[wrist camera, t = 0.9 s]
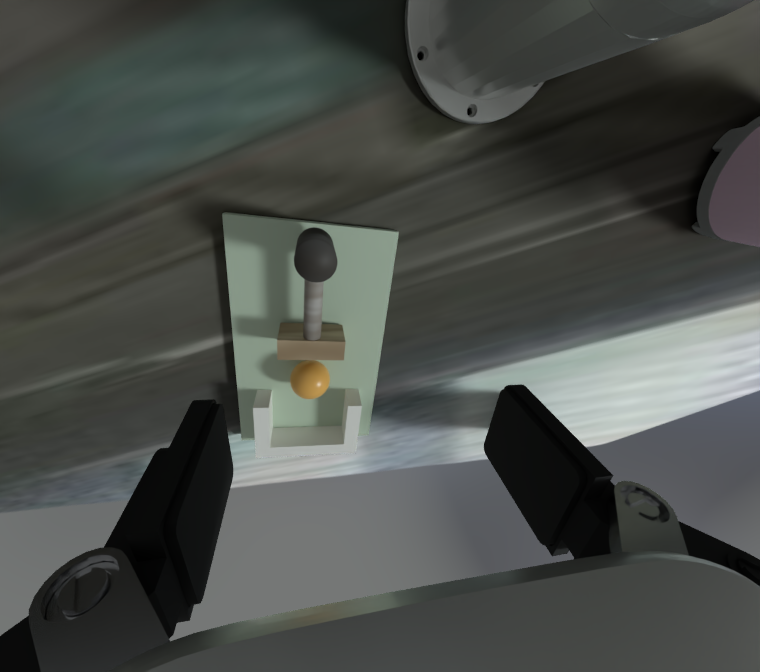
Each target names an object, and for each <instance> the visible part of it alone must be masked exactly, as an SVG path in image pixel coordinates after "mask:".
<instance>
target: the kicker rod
mask: <svg viewBox="0 0 760 672" xmlns="http://www.w3.org/2000/svg"><path fill="white" fill-rule="evenodd" d="M294 266H295V269H296V271H297V272H298V274H299V275H300V276H301V277H302V278H304V321H303V323H280V328H279V333H278V338H277V360H344V353H345V343H346V342H345V336H344V331H343V326H342V325H334V324H322V306H323V287H324V281H326V280H328V279H329V278H331V277H332V276H333V274H334V273H335V271H336V269H337V256H336V252H335V248H334V245H333V241H332V238H331V237H330V235H329V234H328V233H327V232H326V231H324V230H323V229H320V228H316V227H312V228H308V229H306V230H304V231H303V232H302V233H301V234H300V235H299V237H298V240H297V244H296V250H295V255H294Z"/></svg>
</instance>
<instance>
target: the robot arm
mask: <svg viewBox="0 0 760 672" xmlns="http://www.w3.org/2000/svg"><path fill="white" fill-rule="evenodd" d="M752 1H753V0H406V9H405V39H406V45H407V52H408V58H409V61H410V64H411V67H412V70H413V73H414V76H415V78H416V80H417V82H418V84H419V86H420V88H421V90H422V92H423V93H424V94H425V96H426V97H427V98H428V100H429V101H430V102H431V104H432V105H433V106H435V107H436V108H437V109H438V110H439V111H440V112H441V113H443V114H444V115H446V116H448V117H450V118H451V119H453V120H455V121H459V122H463V123H466V124H484V123H489V122H494V121H497V120H500V119H502V118H505V117H507V116H509V115H511V114H512V113H514V112H516V111H517V110H519V109H520V108H521V107H522V106H524V105H525V104H526V103H527V102H528V101H529V100H530V99H531V98H532V97H533V96H534V95H535V94H536V93H537V91H538V90H539V89H540V88H541V87H542V85H543V84H544V82H545V81H546V80H549V79H552V78H555V77H558V76H561V75H563V74H566V73H569V72H572V71H575V70H578V69H580V68H583V67H586V66H589V65H592V64H595V63H597V62H600V61H603V60H606V59H609V58H612V57H614V56H617V55H620V54H623V53H626V52H629V51H631V50H634V49H637V48H640V47H643V46H646V45H648V44H651V43H654V42H657V41H660V40H663V39H665V38H668V37H671V36H674V35H677V34H678V33H681V32H683V31H686V30H689V29H692V28H694V27H697V26H700V25H703V24H705V23H708V22H711V21H713V20H715V19H718V18H720V17H722V16H725V15H727V14H729V13H731V12H733V11H735V10H737V9H739V8H741V7H743V6H744V5H746V4H748V3H750V2H752ZM418 53H420V54H421V55H422V60H421V61H420V60H419V59H418V57H417V54H418ZM467 109H469V110H470V114H469V115H468V114H467ZM484 451H485V454H486V456H487V457H488V459H489V460H490V462H491V464H492V465H493V467H494V469H495V470H496V472H497V473H498V475H499V477H500V478H501V480H502V482H503V483H504V485H505V486H506V488H507V490H508V491H509V493H510V494H511V496H512V498H513V499H514V501H515V503H516V504H517V506H518V508H519V509H520V511H521V513H522V514H523V516H524V517H525V519H526V521H527V522H528V524H529V526H530V527H531V529H532V530H533V532H534V534H535V535H536V537H537V539H538V540H539V541H540V543H541V544H543V545H545V546H546V547H547V549H548V550H549V552H550V554H551V555H552V556H556V555H561V554H567V553H568V551H569V550H570V552H571V553H572V555H573V556H574V559H573V560H567V561H562V562H556V563H551V564H545V565H539V566H533V567H528V568H522V569H516V570H511V571H506V572H499V573H494V574H488V575H483V576H477V577H472V578H466V579H461V580H455V581H450V582H444V583H439V584H433V585H428V586H422V587H417V588H411V589H406V590H401V591H395V592H390V593H385V594H380V595H374V596H369V597H363V598H358V599H353V600H347V601H343V602H337V603H331V604H326V605H321V606H316V607H310V608H305V609H300V610H295V611H291V612H285V613H281V614H275V615H271V616H266V617H261V618H256V619H252V620H247V621H242V622H237V623H233V624H228V625H225V626H220V627H217V628H213V629H209V630H205V631H201V632H197V633H193V634H191V635H188V636H185V637H182V638H179V639H177V640H173V641H171V642H170V640H169V638H170V637H171V636H172V635H173V634H174V630H175V627H176V624H177V623H178V622H184V621H189V620H190V617H191V613H192V610H193V606H194V604H199V603H201V601H202V599H203V596H204V591H205V588H206V584H207V580H208V576H209V572H210V567H211V564H212V560H213V556H214V551H215V547H216V543H217V539H218V535H219V531H220V527H221V523H222V519H223V514H224V511H225V507H226V502H227V499H228V495H229V490H230V487H231V483H232V478H233V462H232V456H231V451H230V445H229V439H228V433H227V427H226V421H225V415H224V409H223V405H222V404H216V401H215V400H214V399H213V400H194V401H193V402H192V403H191V405H190V407H189V409H188V411H187V413H186V415H185V417H184V419H183V421H182V423H181V425H180V427H179V429H178V431H177V433H176V435H175V437H174V439H173V441H172V443H171V445H170V447H169V448H161V449H159V450H157V451H156V453H155V454H154V456H153V458H152V459H151V461H150V463H149V465H148V467H147V469H146V470H145V472H144V474H143V476H142V478H141V480H140V482H139V483H138V485H137V487H136V489H135V491H134V493H133V495H132V496H131V498H130V500H129V502H128V504H127V506H126V508H125V509H124V511H123V513H122V515H121V517H120V519H119V521H118V522H117V525H116V526H115V528H114V530H113V532H112V534H111V535H110V537H109V539H108V541H107V543H106V544H105V546H104V548H98V549H94V550H91V551H88V552H85V553H83V554H81V555H79V556H77V557H75V558H74V559H72V560H70V561H69V562H67V563H66V564H65V565H63V566H62V567H60V568H59V569H58V570H56V571H55V572H54V573H53V574H52V575H51V576H50V577H49V578H48V579H47V580H46V581H45V582H44V584H43V585H42V586H41V588H40V589H39V591H38V592H37V593H36V595H35V596H34V599H33V601H32V604H31V606H30V608H29V616H28V617H26V618H25V619H23V620H22V621H21V622H20V623H18V624H16V625H15V626H14V627H12V628H11V629H9V630H8V631H7V632H5V633H4V634H2V635H1V636H0V672H760V560H759V559H757V558H755V557H754V556H752V555H750V554H748V553H746V552H744V551H742V550H740V549H738V548H735V547H733V546H731V545H729V544H727V543H725V542H722V541H720V540H718V539H716V538H714V537H712V536H709V535H707V534H705V533H703V532H701V531H699V530H696V529H694V528H692V527H690V526H688V525H686V524H683V523H681V522H679V521H678V519H677V516H676V514H675V512H674V510H673V508H672V507H671V506H670V505H669V504H668V502H667V501H666V500H664V499H663V498H662V497H661V496H660V495H658V494H657V493H656V492H654V491H652V490H651V489H649V488H647V487H645V486H643V485H641V484H638V483H635V482H631V481H621V482H618V483H617V484H616V485H615V486H614V485H613V483H611V481H610V480H611V478H612V477H613V475H612V474H611V473H610V472H609V471H608V470H607V469H606V468H605V467H604V466H603V465H602V464H601V463H600V462H599V461H598V460H597V459H596V458H595V457H594V456H593V454H591V453H590V451H589V450H588V449H587V448H586V447H585V446H584V445H583V444H582V443H581V442H580V441H579V440H578V439H577V438H576V437H575V436H574V435H573V434H572V433H571V432H570V431H569V430H568V429H567V428H566V427H565V426H564V425H563V424H562V423H561V422H560V421H559V420H558V419H557V418H556V417H555V416H554V415H553V414H552V413H551V412H550V411H549V410H548V409H547V408H546V407H545V406H544V405H543V404H542V403H541V402H540V401H539V400H538V399H537V398H536V397H535V396H534V395H533V394H532V393H531V392H530V391H529V390H528V388H527V387H525V386H524V385H508V386H506V387H505V388H504V390H502V391H501V392H500V394H499V398H498V401H497V404H496V407H495V411H494V414H493V417H492V420H491V423H490V427H489V430H488V433H487V436H486V440H485V443H484Z"/></svg>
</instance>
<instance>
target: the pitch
mask: <svg viewBox="0 0 760 672" xmlns="http://www.w3.org/2000/svg"><path fill="white" fill-rule="evenodd" d="M222 218H223V230H224V241H225V253H226V264H227V276H228V288H229V299H230V311H231V322H232V334H233V345H234V357H235V368H236V380H237V391H238V403H239V414H240V426H241V438H242V440H255V434H254V418H253V406H254V401H255V397H256V393H257V390H272V411H273V428H287V427H317V426H342V419H343V408H344V398H345V389H359V394H360V399H361V404H362V409H361V417H360V424H359V432H358V436H362V435H369V428H370V421H371V415H372V408H373V401H374V395H375V388H376V381H377V375H378V368H379V361H380V354H381V348H382V341H383V334H384V328H385V321H386V314H387V308H388V301H389V294H390V288H391V281H392V274H393V268H394V261H395V254H396V248H397V241H398V234H399V232H398V231H397V230H390V229H380V228H371V227H361V226H352V225H342V224H333V223H323V222H314V221H304V220H295V219H285V218H276V217H266V216H257V215H247V214H238V213H229V212H224V213H223V214H222ZM312 227H316V228H320V229H323V230H324V231H326V232H327V233H328V234H329V235H330V237H331V238H332V241H333V245H334V248H335V252H336V256H337V269H336V271H335V273H334V274H333V276H332V277H331V278H329V279H328V280H326V281H324V287H323V306H322V324H334V325H342V326H343V331H344V336H345V342H346V343H345V353H344V360H316V361H319V362H320V363H322V364H323V365H324V366H325V367H326V368H327V370H328V372H329V375H330V383H329V387H328V389H327V390H326V392H325V393H324V394H323V395H321V396H320V397H318V398H315V399H304V398H301V397H299V396H298V395H297V394H295V392H294V391H293V390H292V388H291V384H290V376H291V373H292V370H293V369H294V368H295V366H296V365H297V364H299V363H300V362H302V361H305V360H277V338H278V333H279V328H280V323H303V321H304V278H302V277H301V276H300V275H299V274H298V272H297V271H296V269H295V266H294V255H295V250H296V244H297V240H298V237H299V235H300V234H301V233H302V232H303V231H304V230H306V229H308V228H312Z"/></svg>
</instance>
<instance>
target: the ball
mask: <svg viewBox="0 0 760 672" xmlns="http://www.w3.org/2000/svg"><path fill="white" fill-rule="evenodd" d="M329 383H330V375H329V372H328V370H327V368H326V367H325V366H324V365H323V364H322V363H320V362H319V361H316V360H305V361H302V362H300V363H299V364H297V365H296V366H295V368H294V369H293V370H292V373H291V376H290V384H291V388H292V390H293V391H294V392H295V394H297V395H298V396H299V397H301V398H304V399H315V398H318V397H320V396H321V395H323V394H324V393H325V392H326V390H327V389H328V387H329Z"/></svg>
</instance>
